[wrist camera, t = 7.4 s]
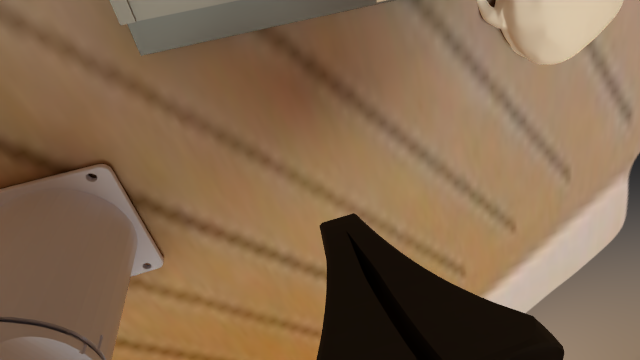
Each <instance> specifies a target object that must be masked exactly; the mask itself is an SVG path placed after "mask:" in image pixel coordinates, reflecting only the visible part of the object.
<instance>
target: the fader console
mask: <svg viewBox="0 0 640 360" xmlns="http://www.w3.org/2000/svg"><path fill="white" fill-rule="evenodd" d="M109 1H110V3H111V5H112V7H113V10H114V12H115V14H116V16H117V19H118V21H119V23H120V25H124V24H127V25H128V27H129V29H130V32H131V34H132V36H133V39H134V41H135V43H136V46H137V48H138V50H139V53H140V55H141V56H142V55H147V54H152V53H156V52H161V51H165V50H170V49H174V48H179V47H184V46H188V45H193V44H197V43H202V42H206V41H211V40H216V39H220V38H225V37H229V36H234V35H238V34H243V33H248V32H252V31H257V30H261V29H266V28H270V27H275V26H280V25H284V24H289V23H293V22H298V21H303V20H307V19H312V18H316V17H321V16H325V15H330V14H335V13H339V12H344V11H348V10H353V9H357V8H362V7H367V6H371V5H376V4H380V3H385V2H389V1H394V0H109Z"/></svg>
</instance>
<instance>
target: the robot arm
mask: <svg viewBox="0 0 640 360" xmlns="http://www.w3.org/2000/svg"><path fill="white" fill-rule="evenodd" d="M90 173H92V174H95V175H96V176H97V178H91V177H90V176H89V175H88V174H90ZM320 230H321V235H322V240H323V245H324V250H325V255H326V260H327V291H326V305H325V314H324V322H323V329H322V335H321V341H320V346H319V350H318V355H317V360H563V356H564V349H563V346H562V345H561V344H560V343H559V342H558V341H557V339H556V338H555V337H554V336H553V335H552V334H551V333H550V332H549V331H548V330H547V329H546V328H545V327H544V326H543V325H542V324H541V323H540V322H538V321H537V320H536V319H535V318H534V317H533V316H531V315H528V314H525V313H522V312H519V311H516V310H513V309H510V308H508V307H505V306H502V305H499V304H496V303H494V302H491V301H489V300H486V299H484V298H481V297H479V296H477V295H475V294H473V293H470V292H468V291H466V290H464V289H462V288H460V287H458V286H456V285H453V284H451V283H450V282H448V281H446V280H444V279H442V278H440V277H438V276H437V275H435V274H433V273H432V272H430V271H428V270H426V269H425V268H423V267H422V266H420V265H419V264H417V263H415V262H414V261H412V260H411V259H410V258H408V257H407V256H405V255H404V254H402V253H401V252H400V251H398V250H397V249H396V248H394V247H393V246H392V245H390V244H389V243H388V242H387V241H385V240H384V239H383V238H382V237H380V236H379V235H378V234H377V233H376V232H375V231H373V230H372V229H371V228H370V227H369V226H368V225H367V224H366V223H364V222H363V221H362V220H361V219H360V218H359V217H358V216H357V215H356V214H350V215H347V216H343V217H340V218H337V219H333V220H330V221H327V222H323V223H322V224H321V225H320ZM163 262H164V259H163V257H162V255H161V253H160V251H159V250H158V248H157V246H156V244H155V243H154V241H153V239H152V238H151V236H150V234H149V232H148V231H147V229H146V227H145V225H144V224H143V222H142V220H141V218H140V217H139V215H138V213H137V212H136V210H135V208H134V206H133V205H132V203H131V201H130V199H129V198H128V196H127V194H126V192H125V191H124V189H123V187H122V186H121V184H120V182H119V180H118V179H117V177H116V175H115V173H114V172H113V170H112V169H111V167H109V166H108V165H105V164H97V165H93V166H89V167H85V168H81V169H77V170H73V171H70V172H66V173H62V174H58V175H54V176H50V177H46V178H42V179H38V180H34V181H30V182H26V183H22V184H18V185H14V186H10V187H7V188H3V189H0V360H111V359H112V355H113V350H114V346H115V342H116V337H117V333H118V329H119V324H120V320H121V316H122V311H123V307H124V303H125V298H126V294H127V290H128V285H129V281H130V277H131V276H134V275H138V274H141V273H145V272H148V271H151V270H155V269H158V268H160V267H161V266H162V265H163ZM145 263H149V264H150V265H146V264H145Z"/></svg>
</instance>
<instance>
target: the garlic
mask: <svg viewBox="0 0 640 360" xmlns="http://www.w3.org/2000/svg"><path fill="white" fill-rule="evenodd" d="M623 1H624V0H496V2H495V6H494V7H492V6H490V5H489V3H488V2H487V0H477V3H478V8H479V11H480V13H481V16H482V17H483V19H484V20H485V21H486V22H487V23H489V24H490V25H492V26H494V27H496V28H499V29H501V30H502V32H503V35H504V37H505V38H506V40H507V41H508V43H509V44H510V46H511V48H512V50H513V51H514V52H515V53H517V54H518V55H520V56H522V57H524V58H526V59H528V60H530V61H531V62H534V63H536V64H542V65H550V64H558V63H561V62H564V61H566V60H568V59H570V58H571V57H573V56H574V55H576V54H577V53H578V52H580V51H581V50H582V49H583V48H584V47H586V46H587V45H588V44H589V43H590V42H591V41H592V40H594V39H595V38H596V37H597V36H598V35H599V34H600V33H601V32H602V31H603V29H604V28H605V27H606V26H607V25H608V24H609V23H610V22H611V21H612V20H613V19H614V17H615V16H616V15H617V13H618V12H619V10H620V8H621V6H622V4H623Z"/></svg>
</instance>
